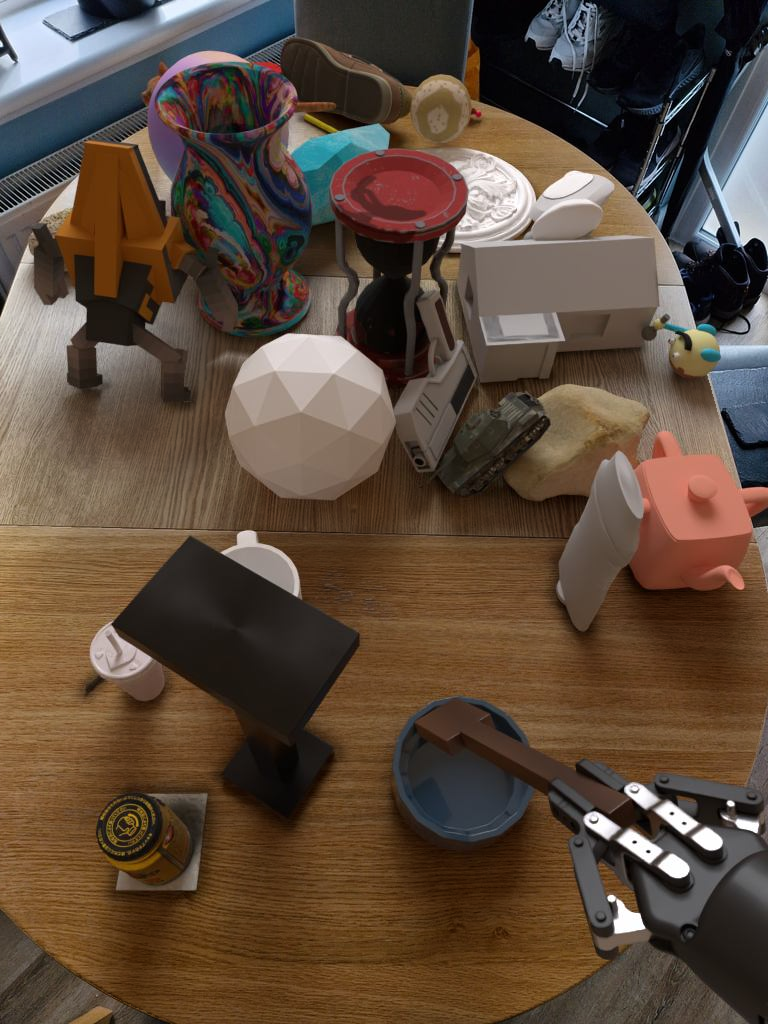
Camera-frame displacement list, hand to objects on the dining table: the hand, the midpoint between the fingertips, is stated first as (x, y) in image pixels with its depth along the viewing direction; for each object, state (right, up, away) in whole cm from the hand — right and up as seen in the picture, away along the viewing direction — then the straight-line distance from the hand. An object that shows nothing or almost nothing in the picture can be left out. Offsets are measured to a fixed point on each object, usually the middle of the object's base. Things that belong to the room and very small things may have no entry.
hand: (567, 781), depth 49 cm
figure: (-5, +92, +89) cm, 128 cm away
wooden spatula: (-2, -1, +6) cm, 7 cm away
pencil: (-20, +85, +89) cm, 125 cm away
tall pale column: (+10, +8, +38) cm, 40 cm away
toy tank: (+2, +24, +45) cm, 51 cm away
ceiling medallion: (0, +70, +79) cm, 105 cm away
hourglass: (-11, +41, +60) cm, 73 cm away
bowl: (-4, -9, +27) cm, 28 cm away
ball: (-30, +81, +61) cm, 105 cm away
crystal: (-30, +58, +64) cm, 92 cm away
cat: (-34, +75, +81) cm, 116 cm away
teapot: (+22, +12, +42) cm, 49 cm away
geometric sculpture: (-21, +23, +47) cm, 57 cm away
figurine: (+31, +41, +52) cm, 73 cm away
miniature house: (+13, +44, +63) cm, 78 cm away
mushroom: (+2, +93, +87) cm, 127 cm away
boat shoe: (-22, +94, +87) cm, 130 cm away
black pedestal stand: (-22, -8, +27) cm, 36 cm away
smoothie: (-37, -1, +31) cm, 48 cm away
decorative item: (-55, +54, +66) cm, 101 cm away
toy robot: (-45, +34, +54) cm, 78 cm away
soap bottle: (+14, +56, +57) cm, 82 cm away
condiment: (-33, -14, +23) cm, 42 cm away
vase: (-31, +49, +64) cm, 86 cm away
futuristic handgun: (-9, +39, +41) cm, 58 cm away
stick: (-42, +2, +32) cm, 53 cm away
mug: (-26, +5, +36) cm, 44 cm away
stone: (+12, +24, +49) cm, 56 cm away
